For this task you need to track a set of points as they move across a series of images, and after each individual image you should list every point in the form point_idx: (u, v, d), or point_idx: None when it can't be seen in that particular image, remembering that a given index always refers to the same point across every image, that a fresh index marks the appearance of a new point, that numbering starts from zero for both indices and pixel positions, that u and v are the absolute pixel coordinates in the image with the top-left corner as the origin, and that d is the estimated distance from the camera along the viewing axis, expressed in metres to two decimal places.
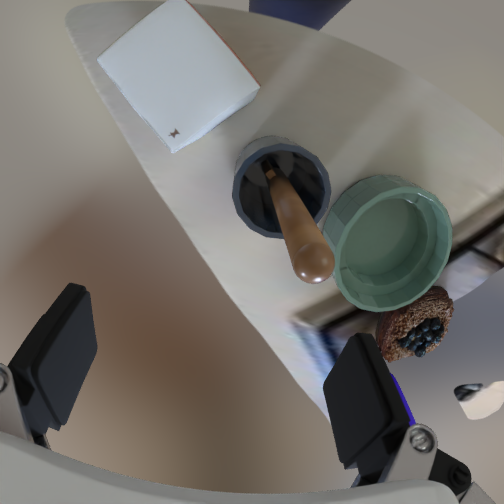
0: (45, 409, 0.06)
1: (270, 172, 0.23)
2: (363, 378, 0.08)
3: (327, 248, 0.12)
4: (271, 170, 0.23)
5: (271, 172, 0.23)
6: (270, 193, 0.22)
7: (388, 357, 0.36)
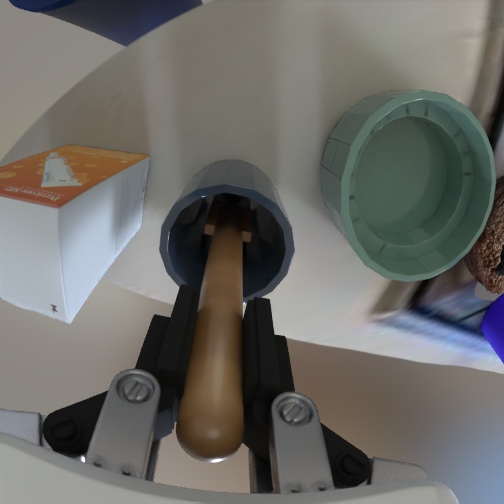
0: (174, 408, 0.07)
1: (207, 228, 0.18)
2: (247, 339, 0.09)
3: (200, 422, 0.06)
4: (206, 225, 0.18)
5: (208, 227, 0.18)
6: None
7: (495, 290, 0.24)
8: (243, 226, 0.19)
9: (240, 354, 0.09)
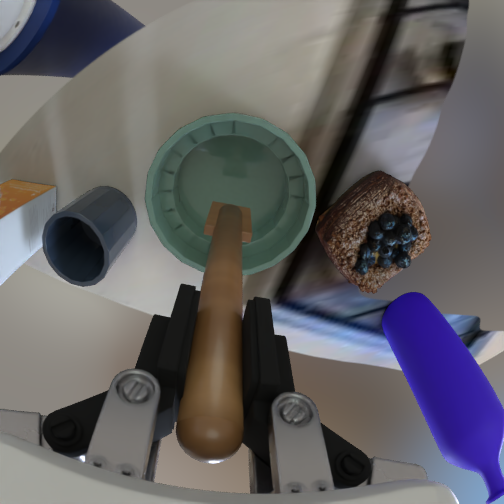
0: (174, 408, 0.07)
1: (207, 228, 0.18)
2: (247, 339, 0.09)
3: (200, 423, 0.06)
4: (206, 226, 0.18)
5: (208, 228, 0.18)
6: None
7: (366, 290, 0.30)
8: (243, 226, 0.19)
9: (240, 355, 0.09)
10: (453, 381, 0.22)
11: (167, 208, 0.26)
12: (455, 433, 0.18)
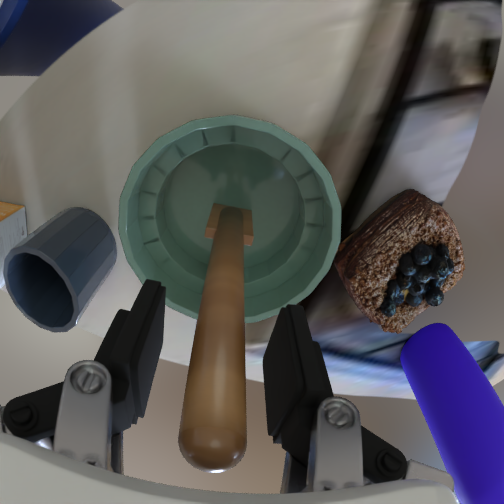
0: (132, 402, 0.07)
1: (208, 231, 0.18)
2: (285, 346, 0.09)
3: (203, 433, 0.06)
4: (207, 229, 0.18)
5: (209, 231, 0.18)
6: None
7: (390, 330, 0.24)
8: (244, 229, 0.19)
9: (242, 363, 0.09)
10: (480, 431, 0.16)
11: (150, 239, 0.21)
12: (477, 487, 0.12)
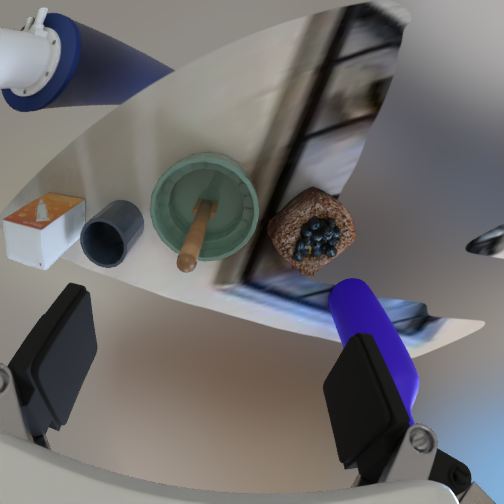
0: (45, 409, 0.06)
1: (194, 210, 0.37)
2: (363, 378, 0.08)
3: (183, 254, 0.25)
4: (193, 209, 0.37)
5: (194, 210, 0.37)
6: None
7: (304, 273, 0.44)
8: (211, 210, 0.38)
9: (199, 245, 0.28)
10: None
11: (165, 216, 0.40)
12: None
